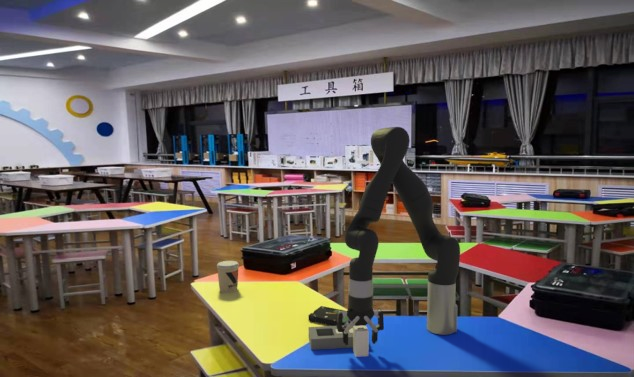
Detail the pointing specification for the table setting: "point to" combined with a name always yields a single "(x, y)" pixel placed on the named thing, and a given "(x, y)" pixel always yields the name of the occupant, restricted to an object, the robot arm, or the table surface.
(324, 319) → the disk drive
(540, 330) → the table surface
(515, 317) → the table surface
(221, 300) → the table surface
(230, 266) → the coffee cup
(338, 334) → the power strip
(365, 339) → the cream rectangular block
